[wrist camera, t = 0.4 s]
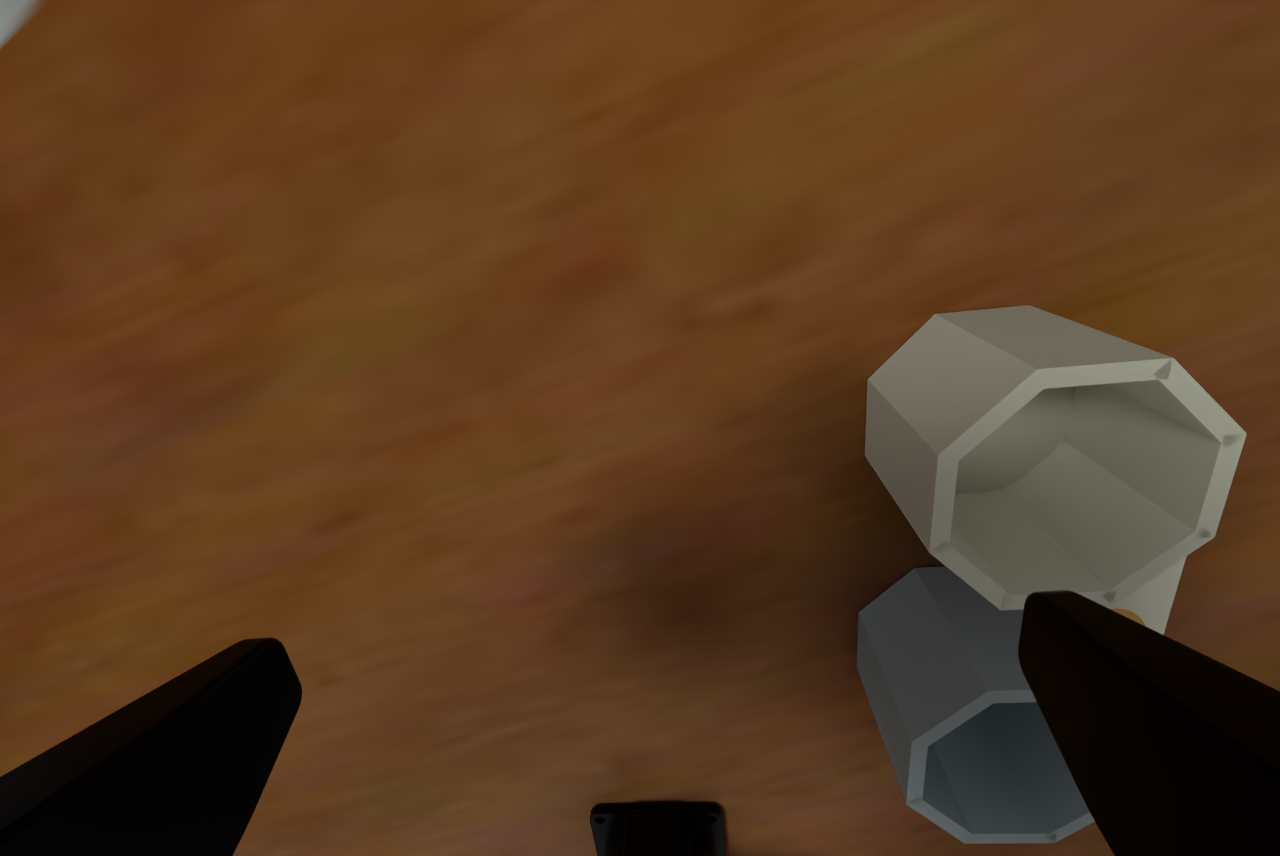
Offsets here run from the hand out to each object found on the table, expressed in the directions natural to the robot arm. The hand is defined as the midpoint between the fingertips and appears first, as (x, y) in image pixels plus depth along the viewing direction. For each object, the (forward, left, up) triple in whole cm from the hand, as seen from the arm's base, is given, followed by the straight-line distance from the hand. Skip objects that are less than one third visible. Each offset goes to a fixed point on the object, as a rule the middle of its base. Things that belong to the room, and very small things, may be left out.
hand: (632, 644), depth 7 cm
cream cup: (-3, -10, -14) cm, 18 cm away
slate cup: (-13, -10, -14) cm, 22 cm away
